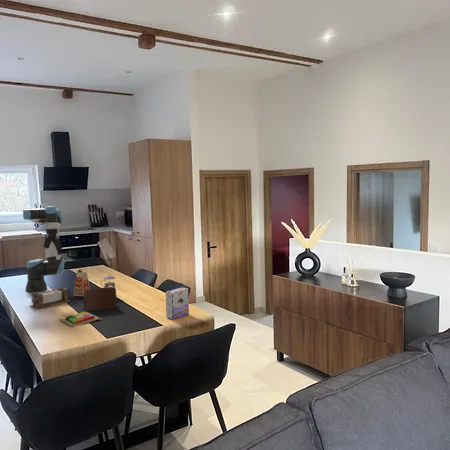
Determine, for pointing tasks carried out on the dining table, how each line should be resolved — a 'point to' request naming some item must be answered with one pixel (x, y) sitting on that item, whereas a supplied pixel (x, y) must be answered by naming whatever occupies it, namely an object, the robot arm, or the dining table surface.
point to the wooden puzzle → (80, 319)
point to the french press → (109, 277)
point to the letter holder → (99, 299)
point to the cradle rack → (40, 305)
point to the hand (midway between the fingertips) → (53, 258)
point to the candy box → (177, 303)
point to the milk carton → (81, 283)
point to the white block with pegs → (50, 297)
